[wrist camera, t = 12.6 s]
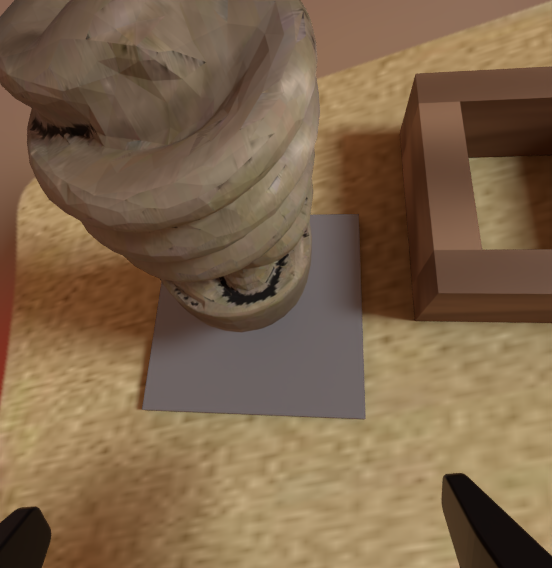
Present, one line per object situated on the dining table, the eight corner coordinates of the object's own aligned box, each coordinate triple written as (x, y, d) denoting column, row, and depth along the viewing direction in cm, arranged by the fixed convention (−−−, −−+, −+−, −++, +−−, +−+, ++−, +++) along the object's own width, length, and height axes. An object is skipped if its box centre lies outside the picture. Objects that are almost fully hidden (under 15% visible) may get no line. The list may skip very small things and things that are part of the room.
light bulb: (343, 309, 19) (419, -53, 5) (258, 392, 18) (45, 238, 4) (263, 235, 21) (150, -184, 7) (182, 307, 20) (-150, -8, 6)
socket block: (672, 324, 18) (767, 295, 14) (415, 320, 19) (438, 293, 15) (610, 125, 21) (671, 60, 18) (399, 133, 23) (415, 73, 19)
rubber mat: (364, 418, 17) (365, 418, 17) (146, 410, 19) (142, 409, 18) (357, 218, 21) (358, 214, 20) (174, 221, 22) (171, 216, 22)
